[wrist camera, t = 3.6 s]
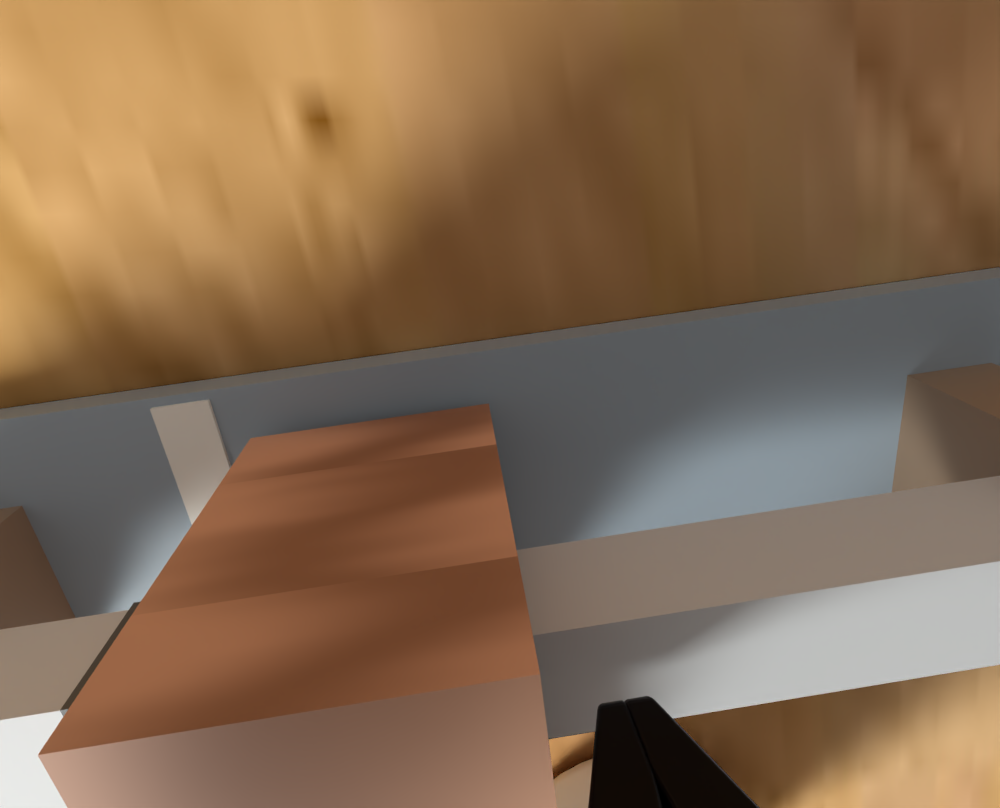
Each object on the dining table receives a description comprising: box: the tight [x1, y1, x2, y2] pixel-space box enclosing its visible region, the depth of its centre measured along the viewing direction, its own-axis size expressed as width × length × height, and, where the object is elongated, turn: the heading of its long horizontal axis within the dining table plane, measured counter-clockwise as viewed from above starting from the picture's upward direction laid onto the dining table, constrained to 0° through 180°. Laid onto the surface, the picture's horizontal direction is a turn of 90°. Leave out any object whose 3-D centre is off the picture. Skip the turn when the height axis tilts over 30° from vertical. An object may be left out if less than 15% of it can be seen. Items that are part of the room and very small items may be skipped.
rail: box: [0, 267, 1000, 808], centre depth 13 cm, size 25×8×6 cm, turn 96°
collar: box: [38, 403, 557, 808], centre depth 11 cm, size 5×6×7 cm
